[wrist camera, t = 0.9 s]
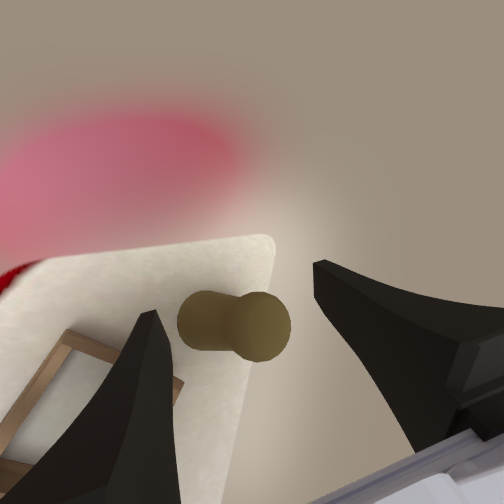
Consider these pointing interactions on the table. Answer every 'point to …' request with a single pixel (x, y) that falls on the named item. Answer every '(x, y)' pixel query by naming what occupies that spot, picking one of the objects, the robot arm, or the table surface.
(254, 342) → the olive game pawn
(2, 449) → the walnut stand
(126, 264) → the table surface
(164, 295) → the table surface
